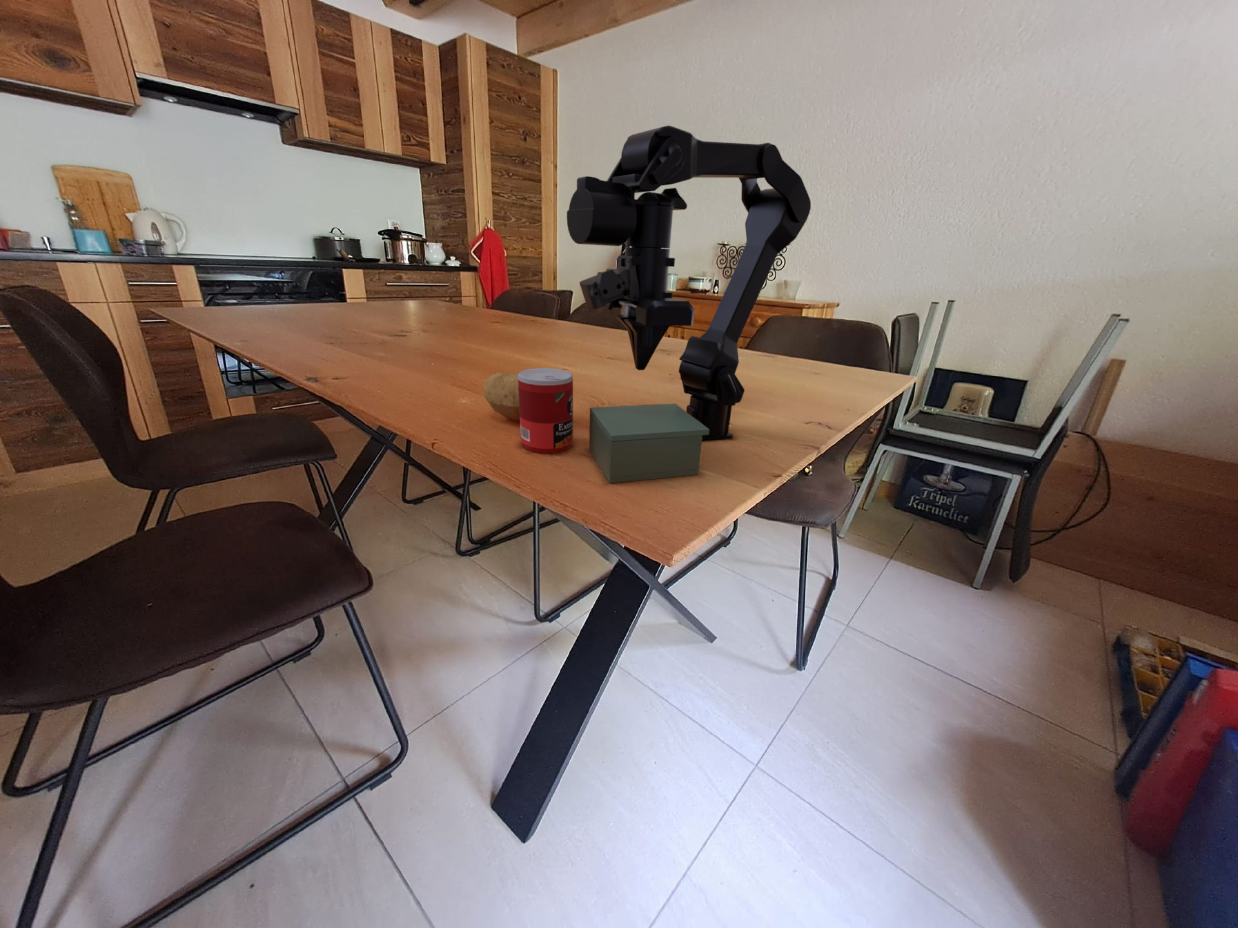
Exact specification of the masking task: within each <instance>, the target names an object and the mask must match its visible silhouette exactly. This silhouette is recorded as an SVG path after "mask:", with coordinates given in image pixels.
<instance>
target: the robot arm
mask: <svg viewBox="0 0 1238 928" xmlns="http://www.w3.org/2000/svg"><path fill="white" fill-rule="evenodd" d="M694 178H695V179H696V178H697V179H698V178H701V179H702V178H704V179H705V178H707V179H709V178H713V179H717V178H720V179H721V178H722V179H723V178H725V179H726V178H727V179H728V178H729V179H730V178H731V179H733V178H737V179H738V180H739V182H740V183H741V202H742V205H743V206H744V208H745V210H746V212H747V217H746V219H745V222H744V228H745V238H746V243H745V246H744V249H743V250H742V253H741V255H740V257H739V259H738V261H737V264H736V266H735V268H734V271H733V273H732V275H731V277H730V280H729V282H728V284H727V286H726V289H725V291H724V293H723V295H722V298H721V300H720V302H719V304H718V306H717V309H716V311H715V313H714V315H713V318H712V319H711V322H710V324H709V327H708V328H707V330H706V331H705V332H704V333H703V334H702V335H700V336H695V335H691V336H690V337H689V339H688V340H687V343H686V346H685V349H684V351H683V352H682V355H681V356H680V357H679V361H680V364H679V367H678V374H679V377H680V380H681V383H682V388H683V393H684V394H686V395H690V397H689V398H690V399H689V404H687V405H686V410H685V411H686V412H687V413H688V414H690V415H691V416H692V417H694V418H695V419H696V420H698V421H699V422H700V423H702V424H703V425H704V426H706V427H707V428H708V429H709V435H702V441H708V440H719V439H721V440H722V439H731V438H734V434H733V433H732V432H730V424H731V416H732V409H733V406H736V404H739V403H741V402H742V399H743V396H744V394H745V387H744V386H743V385H742V383H741V381H740V379H739V378H738V376H737V375H736V372H737V369H738V366H739V363H740V360H739V350H738V342H739V339H740V337H741V335H742V333H743V331H744V328H745V326H746V324H747V322H748V320H749V317H750V315H751V314H752V311H753V309H754V306H755V305H756V302H757V300H758V298H759V296H760V294H761V291H762V290H763V287H764V285H765V283H766V280H767V278H768V276H769V273H770V271H771V269H772V267H773V265H774V263H775V261H776V258H777V256H778V255H779V254H780V253H781V252H782V251H783V250H784V249H785V248H787V247H788V246H789V245H790V244H791V243H793V242H794V241H795V240H796V239H797V237H798V235H799V234H800V233H801V231H802V229H803V227H804V225H805V224H806V222H807V220H808V218H809V216H810V213H811V208H812V202H811V198H810V196H809V193H808V191H807V189H806V186H805V184H804V181H803V179H802V178H803V177H801V175H800V174H799V173H797V172H796V171H795V169H793V168H792V167H791V166H790V165H789V164H788V163H787V162H786V161H784V160H783V157H782V155H781V152H780V150H779V148H778V147H777V145H775V144H773V143H770V142H763V143H741V142H740V143H739V142H722V141H708V140H707V141H705V140H700V139H698V138H696V137H695V136H694V135H693V134H692V133H691V132H690V131H687V130H685V129H684V130H683V129H681V128H678V127H675V126H672V125H664V126H661V127H656V128H653V129H649V130H645V131H641V132H637V133H634V134H631V135H629V136H628V137H627V139H626V141H625V142H624V144H623V147H622V150H621V155H620V159H619V160H618V162H617V163H616V165H615V167H614V169H613V170H612V171H611V173H610V175H609V176H608V178H607V180H603V179H600V178H598V177H595V176H589V175H587V176H581V177H578V178H576V189H575V191H574V192H573V194H572V196H571V198H570V201H569V206H568V209H567V210H566V226H567V232H568V233H569V236H570V239H571V240H572V241H573V242H574V243H575V244H577V245H587V246H588V245H589V246H608V247H621V246H623V245H624V244H625V245H624V255H621V254H620V255H619V257H618V258H617V268H606V270H605V271H598V272H597V274H596V275H593V276H591V277H588V278H586V279H582V280H581V281H579V286H580V290H581V292H582V296H583V298H584V302H585V306H586V307H588V308H589V307H590V308H591V309H592V310H599V309H601V308H603V309H605V310H607V311H612V310H613V309H620V314H616V315H615V316H614V317H615V318H616V319H617V320H618V321H619V322H620V323H621V324H622V325H623V326H624V327H625V329H626V332H627V335H628V339H629V343H630V347H631V352H632V353H631V354H632V357H633V362H634V367H635V369H636V370H637V371H644V370H646V368H647V366H648V364H649V363H650V361H651V359H652V357H653V355H654V353H655V351H656V350H657V348H658V346H659V345H660V343H661V341H662V340H663V338H664V336H665V334H666V333H667V332H668V330H669V328H670V327H691V326H694V320H695V310H696V309H695V308H694V306H693V305H692V303H691V302H690V301H689V300H686V299H682V298H677V297H673V292H672V291H668V278H669V268H670V267H674V268H675V262H676V257H670V252H671V240H672V230H673V229H672V227H673V216H674V215H673V214H674V211H683V210H684V211H685V210H686V209H688V204H687V202H686V201H685V199H684V198H683V197H682V196H681V195H680V193H679V191H678V189H677V188H676V187H670V188H664V189H663V190H662V191H661V193H660V192H656V191H657V190H658V189H659V188H660V187H662V186H671V185H675V184H679V183H682V182H685V181H689V180H692V179H694ZM758 179H764V180H765V182H766V183H767V184H768V186H770V187H771V188H764V189H762V190H761V187H760V186H759V183H758ZM639 193H642V194H640V195H639V197H637V198H635V197H636V196H635V195H636V194H639Z"/></svg>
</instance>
